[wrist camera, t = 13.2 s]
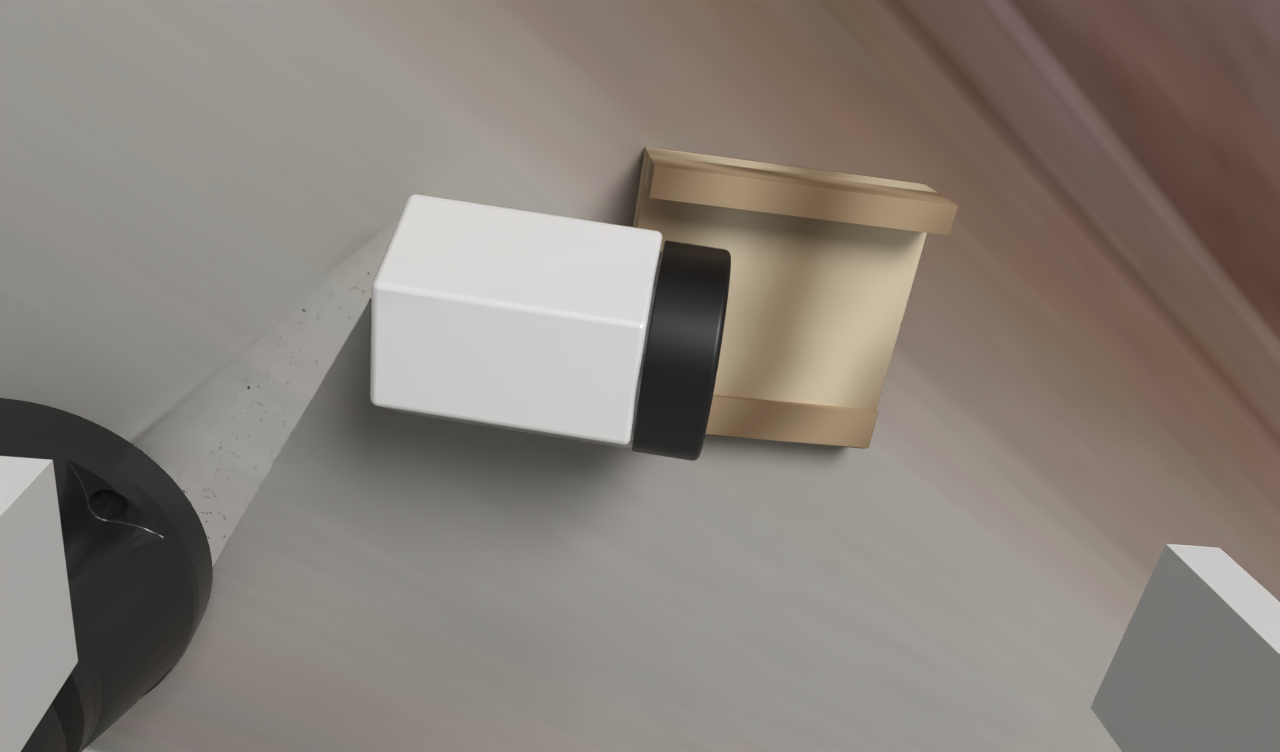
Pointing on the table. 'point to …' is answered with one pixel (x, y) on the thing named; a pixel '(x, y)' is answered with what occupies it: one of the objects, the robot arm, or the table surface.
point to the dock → (797, 285)
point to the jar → (548, 326)
